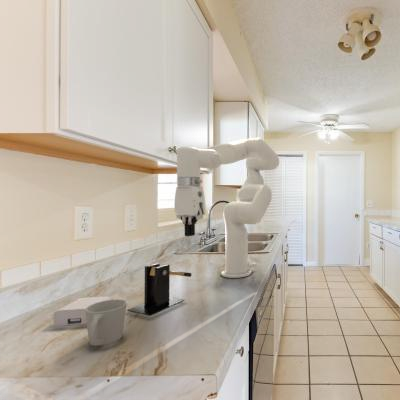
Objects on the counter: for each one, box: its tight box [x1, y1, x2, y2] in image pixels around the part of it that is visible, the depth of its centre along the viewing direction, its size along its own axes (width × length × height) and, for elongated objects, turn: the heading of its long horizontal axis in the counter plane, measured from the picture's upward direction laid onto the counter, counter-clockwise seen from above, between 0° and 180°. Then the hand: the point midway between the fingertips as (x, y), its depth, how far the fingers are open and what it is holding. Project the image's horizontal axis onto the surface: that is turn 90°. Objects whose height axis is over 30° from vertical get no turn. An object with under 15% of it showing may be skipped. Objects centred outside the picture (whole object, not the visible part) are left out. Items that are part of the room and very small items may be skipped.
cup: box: [85, 298, 127, 347], centre depth 60 cm, size 8×10×8 cm
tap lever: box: [150, 267, 192, 278], centre depth 85 cm, size 13×5×2 cm, turn 158°
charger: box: [52, 295, 114, 327], centre depth 75 cm, size 5×9×15 cm
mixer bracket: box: [126, 262, 185, 317], centre depth 80 cm, size 12×9×13 cm
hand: (189, 235), depth 95 cm, fingers closed
